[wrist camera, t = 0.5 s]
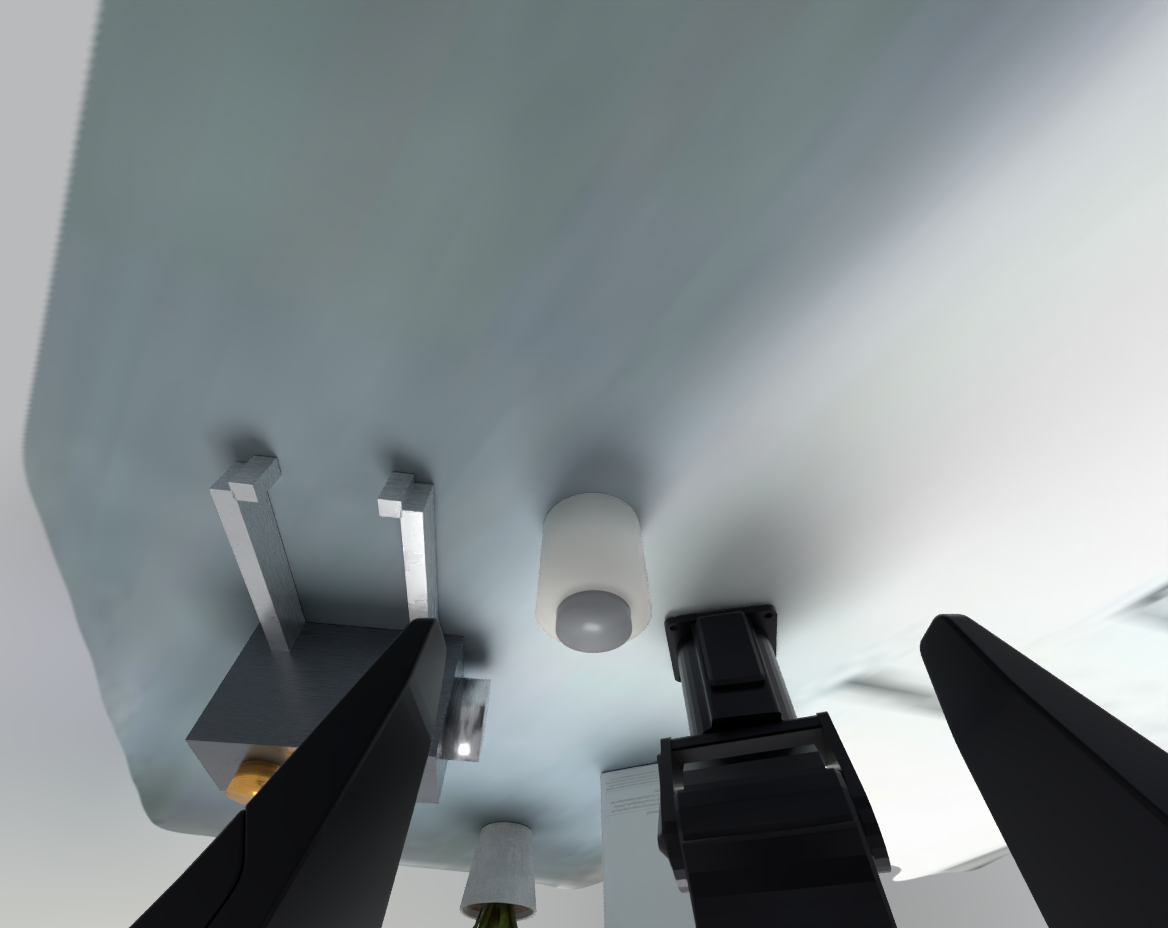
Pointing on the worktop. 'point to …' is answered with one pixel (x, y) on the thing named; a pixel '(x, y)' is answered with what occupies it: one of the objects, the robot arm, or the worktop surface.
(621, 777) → the supplement box
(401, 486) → the motor clip
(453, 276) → the worktop surface
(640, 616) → the bottle
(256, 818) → the robot arm
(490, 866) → the house plant
